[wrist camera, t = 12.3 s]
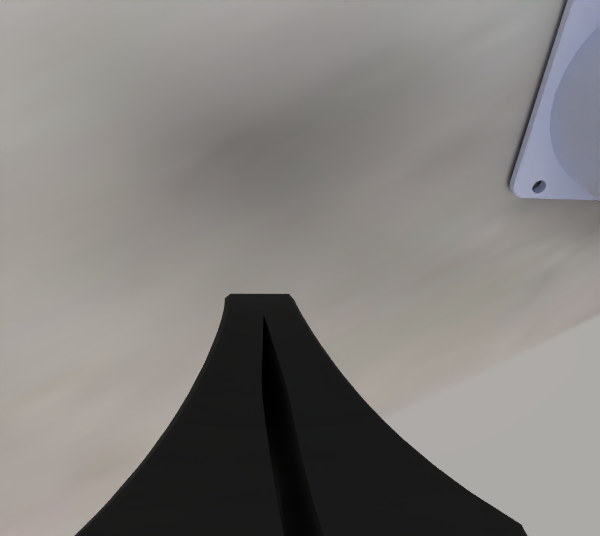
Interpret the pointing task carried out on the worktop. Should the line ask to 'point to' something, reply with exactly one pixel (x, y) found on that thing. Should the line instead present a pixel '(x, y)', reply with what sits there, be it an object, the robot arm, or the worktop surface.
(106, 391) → the worktop surface
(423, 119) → the worktop surface
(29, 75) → the worktop surface
